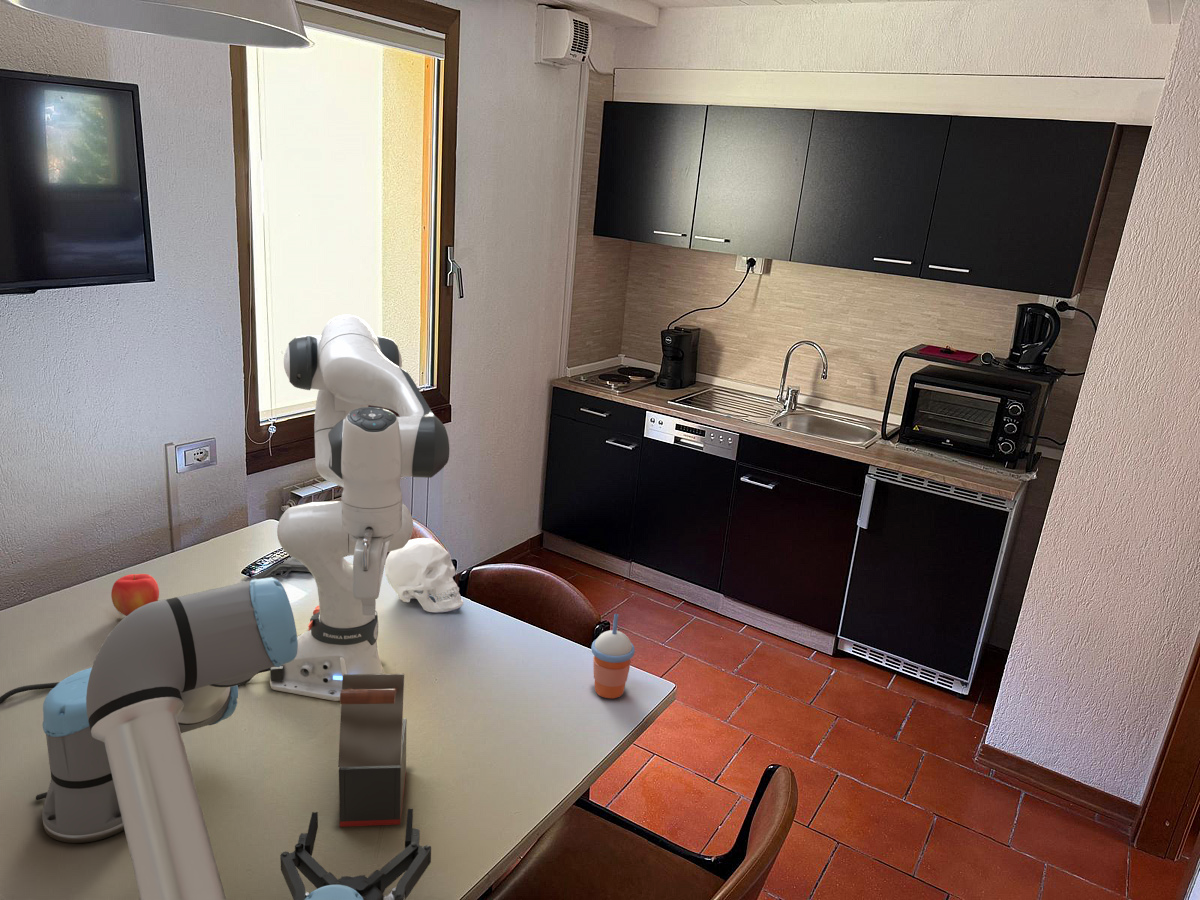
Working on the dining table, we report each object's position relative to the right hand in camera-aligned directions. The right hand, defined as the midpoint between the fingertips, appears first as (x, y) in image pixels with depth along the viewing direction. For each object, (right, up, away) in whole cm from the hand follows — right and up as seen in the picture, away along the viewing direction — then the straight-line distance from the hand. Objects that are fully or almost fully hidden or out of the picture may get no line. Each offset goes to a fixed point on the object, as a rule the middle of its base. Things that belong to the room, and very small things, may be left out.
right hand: (372, 598), depth 133 cm
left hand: (0, -31, -7) cm, 32 cm away
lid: (-1, -20, +4) cm, 21 cm away
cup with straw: (+37, -28, +49) cm, 67 cm away
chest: (-3, -36, +13) cm, 38 cm away
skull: (-8, -15, +80) cm, 82 cm away
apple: (-71, -15, +63) cm, 96 cm away
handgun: (-45, -9, +87) cm, 99 cm away
